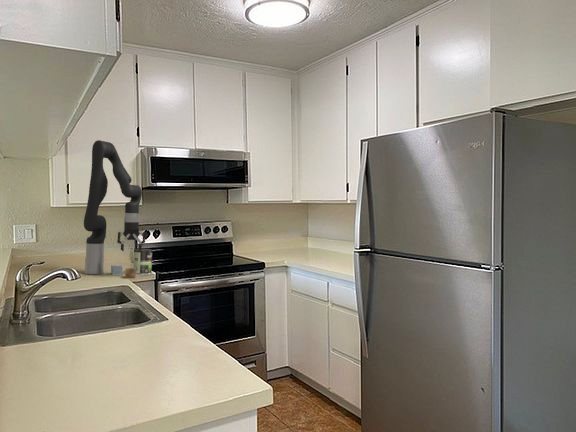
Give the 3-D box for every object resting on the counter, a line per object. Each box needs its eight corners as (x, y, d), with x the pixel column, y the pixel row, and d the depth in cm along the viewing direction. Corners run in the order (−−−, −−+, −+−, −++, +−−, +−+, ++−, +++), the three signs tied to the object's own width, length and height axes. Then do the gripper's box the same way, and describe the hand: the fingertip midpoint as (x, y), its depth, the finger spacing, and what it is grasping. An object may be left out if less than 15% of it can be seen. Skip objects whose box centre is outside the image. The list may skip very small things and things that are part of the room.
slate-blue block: (112, 275, 241) (112, 266, 241) (111, 273, 246) (111, 265, 245) (122, 274, 244) (122, 265, 244) (120, 273, 248) (120, 264, 248)
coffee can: (154, 272, 254) (154, 249, 254) (148, 275, 244) (148, 250, 244) (136, 272, 254) (137, 248, 254) (130, 274, 244) (130, 250, 244)
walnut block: (125, 278, 232) (125, 269, 232) (125, 277, 236) (126, 268, 236) (135, 278, 233) (135, 269, 233) (135, 276, 238) (135, 267, 238)
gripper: (117, 221, 229) (116, 251, 229) (145, 221, 233) (144, 251, 233) (118, 221, 236) (117, 250, 236) (145, 221, 240) (145, 250, 240)
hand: (131, 251), depth 235 cm, fingers open, 8 cm apart
